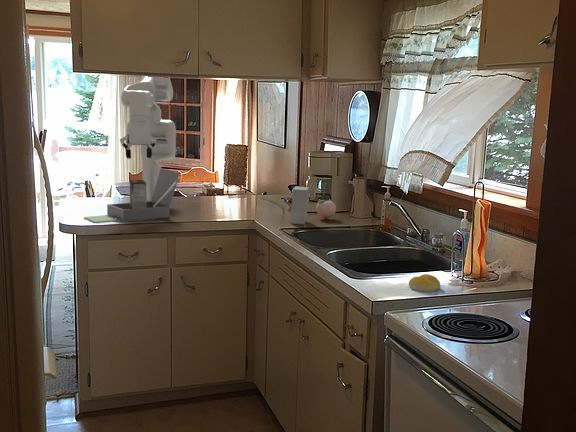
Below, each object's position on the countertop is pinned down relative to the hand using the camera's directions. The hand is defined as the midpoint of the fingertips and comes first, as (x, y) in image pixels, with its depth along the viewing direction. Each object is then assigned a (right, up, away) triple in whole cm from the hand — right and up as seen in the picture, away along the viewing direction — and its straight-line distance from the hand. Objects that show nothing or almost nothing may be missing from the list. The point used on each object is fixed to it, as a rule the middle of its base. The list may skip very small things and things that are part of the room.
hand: (138, 158), depth 283 cm
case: (+1, -26, +6) cm, 26 cm away
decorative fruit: (+84, -28, +10) cm, 89 cm away
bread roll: (+107, -47, -97) cm, 152 cm away
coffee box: (-1, -26, +5) cm, 27 cm away
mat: (-15, -28, -6) cm, 32 cm away
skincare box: (+71, -29, 0) cm, 77 cm away
